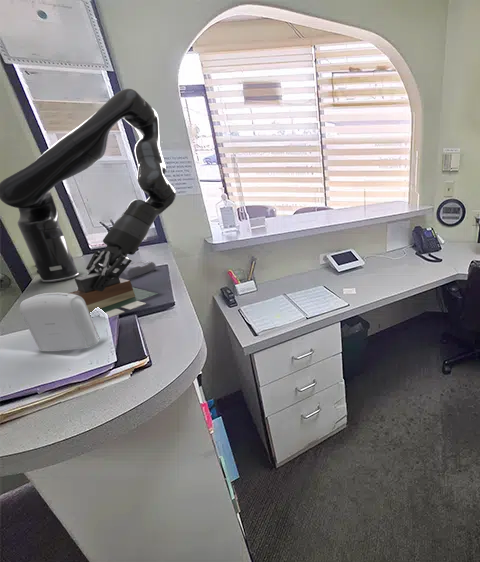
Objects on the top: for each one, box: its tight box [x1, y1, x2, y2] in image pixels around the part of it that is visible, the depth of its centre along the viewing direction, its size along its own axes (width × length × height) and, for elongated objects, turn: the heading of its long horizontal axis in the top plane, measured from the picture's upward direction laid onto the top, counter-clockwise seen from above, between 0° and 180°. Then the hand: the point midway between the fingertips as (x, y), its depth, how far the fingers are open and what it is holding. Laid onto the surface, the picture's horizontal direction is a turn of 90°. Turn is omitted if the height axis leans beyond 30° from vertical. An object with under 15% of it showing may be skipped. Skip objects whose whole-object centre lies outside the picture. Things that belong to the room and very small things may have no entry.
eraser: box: [68, 271, 135, 312], centre depth 83 cm, size 5×12×8 cm, turn 155°
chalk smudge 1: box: [105, 308, 126, 319], centre depth 79 cm, size 4×4×1 cm
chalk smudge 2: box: [121, 301, 147, 311], centre depth 83 cm, size 4×4×1 cm
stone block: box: [119, 260, 157, 280], centre depth 109 cm, size 12×5×10 cm
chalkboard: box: [89, 286, 159, 313], centre depth 87 cm, size 20×20×1 cm
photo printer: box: [19, 292, 101, 352], centre depth 63 cm, size 10×4×12 cm, turn 96°
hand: (91, 288), depth 81 cm, fingers closed on eraser, 5 cm apart
